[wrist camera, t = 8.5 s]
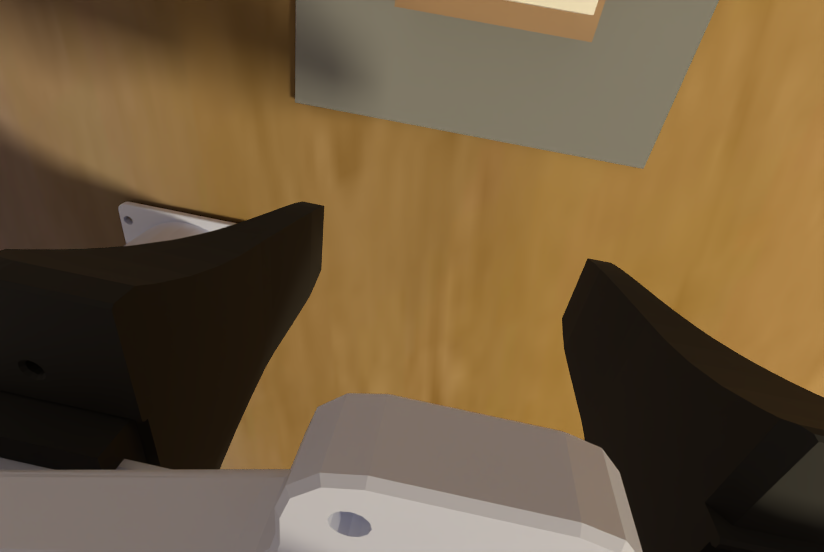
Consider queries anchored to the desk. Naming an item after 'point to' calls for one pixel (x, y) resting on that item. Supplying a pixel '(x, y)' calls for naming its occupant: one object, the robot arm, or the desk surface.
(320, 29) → the mat
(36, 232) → the desk surface
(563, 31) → the walnut slab
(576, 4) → the white slab
